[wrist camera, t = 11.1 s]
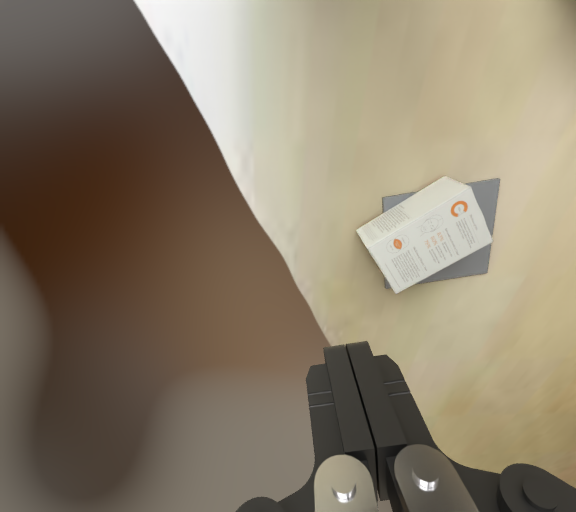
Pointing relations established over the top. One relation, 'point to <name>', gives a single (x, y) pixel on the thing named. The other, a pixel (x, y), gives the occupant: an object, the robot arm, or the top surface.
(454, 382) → the top surface
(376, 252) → the small box
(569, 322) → the top surface
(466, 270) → the mat
